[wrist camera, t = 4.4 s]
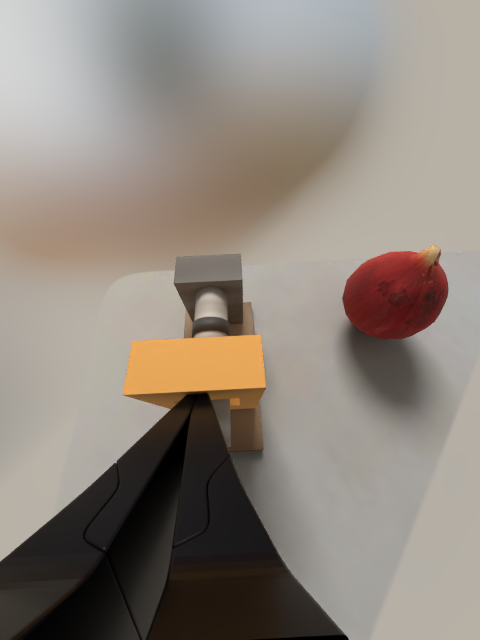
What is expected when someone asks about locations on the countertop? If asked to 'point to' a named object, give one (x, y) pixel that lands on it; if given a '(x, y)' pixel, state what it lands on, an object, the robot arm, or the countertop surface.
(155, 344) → the collar
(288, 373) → the countertop surface
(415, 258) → the onion
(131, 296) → the countertop surface
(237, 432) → the pipe stand
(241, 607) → the robot arm
